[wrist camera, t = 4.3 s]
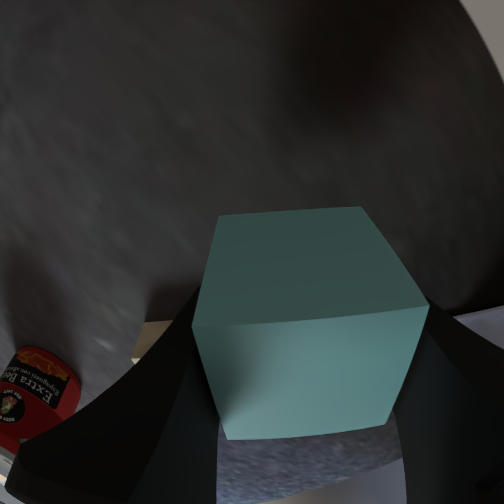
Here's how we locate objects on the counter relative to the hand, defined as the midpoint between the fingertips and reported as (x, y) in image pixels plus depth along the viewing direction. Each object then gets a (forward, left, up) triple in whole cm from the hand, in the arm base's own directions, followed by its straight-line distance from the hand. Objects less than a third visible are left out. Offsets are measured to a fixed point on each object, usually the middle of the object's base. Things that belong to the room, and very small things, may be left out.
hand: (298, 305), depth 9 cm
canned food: (+22, +14, -8) cm, 27 cm away
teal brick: (0, 0, -2) cm, 2 cm away
